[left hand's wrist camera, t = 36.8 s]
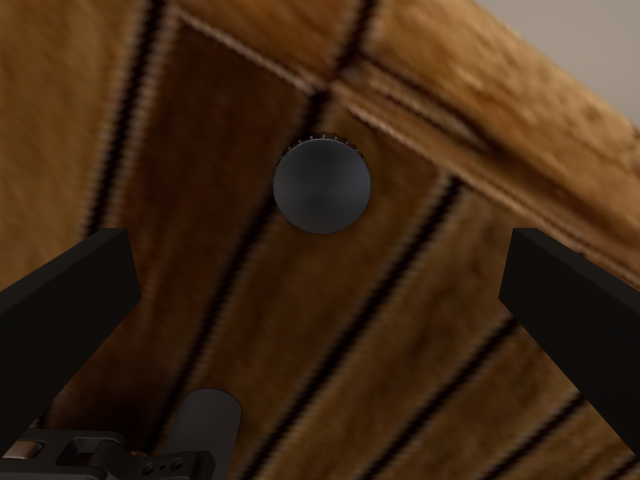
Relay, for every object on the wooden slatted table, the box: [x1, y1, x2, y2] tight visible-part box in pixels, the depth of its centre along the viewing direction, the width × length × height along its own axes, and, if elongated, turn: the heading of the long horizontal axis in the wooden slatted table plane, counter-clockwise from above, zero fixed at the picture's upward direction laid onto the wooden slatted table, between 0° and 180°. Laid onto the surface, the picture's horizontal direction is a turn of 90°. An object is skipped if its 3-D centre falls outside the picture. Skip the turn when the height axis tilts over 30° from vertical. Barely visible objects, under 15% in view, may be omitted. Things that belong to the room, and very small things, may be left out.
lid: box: [273, 131, 372, 234], centre depth 18 cm, size 5×5×2 cm
